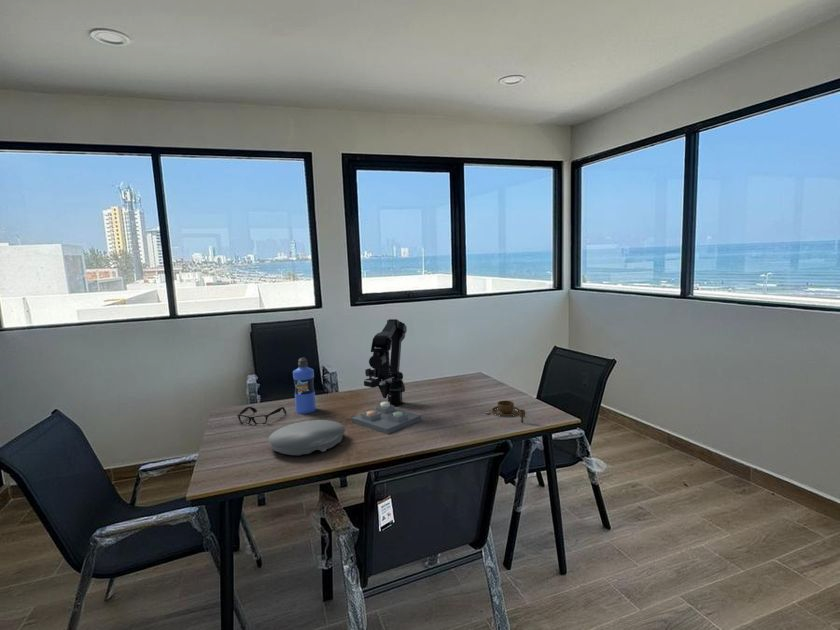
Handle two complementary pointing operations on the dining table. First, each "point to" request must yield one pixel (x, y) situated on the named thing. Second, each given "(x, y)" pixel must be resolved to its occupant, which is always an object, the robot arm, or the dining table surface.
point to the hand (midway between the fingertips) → (384, 398)
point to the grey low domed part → (307, 437)
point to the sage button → (397, 414)
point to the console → (386, 419)
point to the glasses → (257, 416)
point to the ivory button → (385, 405)
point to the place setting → (508, 409)
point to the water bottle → (304, 388)
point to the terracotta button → (370, 413)
